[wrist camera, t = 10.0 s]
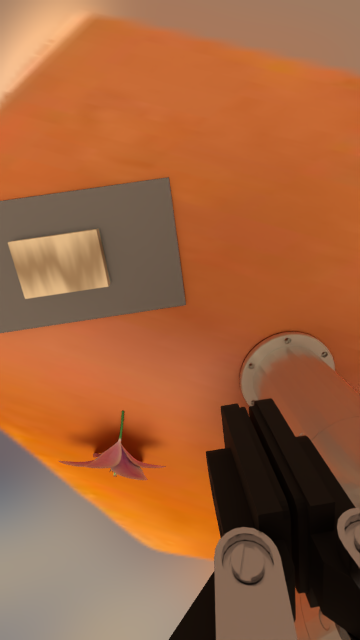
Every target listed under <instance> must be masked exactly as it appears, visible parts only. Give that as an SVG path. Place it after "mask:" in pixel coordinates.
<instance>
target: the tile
mask: <svg viewBox="0 0 360 640" xmlns="http://www.w3.org/2000/svg"><path fill="white" fill-rule="evenodd" d="M8 245H9V249H10V252H11V255H12V258H13V261H14V265H15V268H16V271H17V274H18V278H19V281H20V284H21V287H22V291H23V294H24V297H25V299H28V298H35V297H42V296H49V295H55V294H62V293H69V292H75V291H82V290H89V289H96V288H102V287H109V285H110V283H111V281H110V276H109V271H108V266H107V262H106V257H105V252H104V248H103V243H102V238H101V233H100V229H99V228H97V229H90V230H83V231H76V232H70V233H63V234H56V235H49V236H42V237H35V238H28V239H21V240H15V241H11V242H8Z"/></svg>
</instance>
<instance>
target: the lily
mask: <svg viewBox="0 0 360 640" xmlns="http://www.w3.org/2000/svg"><path fill="white" fill-rule="evenodd" d="M123 420H124V411H122V417H121V428H120V435H119V440H118V442H117V443H116V444H114V445H113V446H111V447H110V448H109V449H107V450H106V451H104V452H103V453H102V454H98V453H94V454H93V457H98V458H96V459H95V460H93V461H88V462H68V461H59V462H61V463H64V464H68V465H72V466H80V467H89V468H111V470H112V471H113V472H114V477H115V476H116V474H118V475H120V476H123V477H127V478H132V479H138V480H147V478H146V477H145V475H144V473H143V471H142V470H141V468H140V467H144V468H162V467H166V466H158V465H151V464H146V463H143V462H140V461H138V460H136V459H135V458H133V457H132V456H131V455H130V454H129V453H128V452H127V450H126V449H125V448H124V447H123V445H122V444H121V438H122V430H123ZM111 470H110V471H111Z"/></svg>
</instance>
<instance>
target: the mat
mask: <svg viewBox="0 0 360 640" xmlns="http://www.w3.org/2000/svg"><path fill="white" fill-rule="evenodd" d="M97 228H99V229H100V233H101V238H102V243H103V248H104V252H105V257H106V262H107V266H108V271H109V276H110V281H111V283H110V285H109V287H102V288H96V289H89V290H82V291H75V292H69V293H62V294H55V295H49V296H42V297H35V298H28V299H25V297H24V294H23V291H22V287H21V284H20V281H19V278H18V274H17V271H16V268H15V265H14V261H13V258H12V255H11V252H10V249H9V245H8V242H11V241H15V240H21V239H28V238H35V237H42V236H49V235H56V234H63V233H70V232H76V231H83V230H90V229H97ZM183 305H186V302H185V294H184V287H183V279H182V272H181V264H180V257H179V249H178V242H177V235H176V227H175V220H174V212H173V205H172V197H171V190H170V182H169V177H168V178H161V179H154V180H147V181H140V182H133V183H126V184H119V185H112V186H104V187H97V188H90V189H83V190H76V191H69V192H62V193H55V194H48V195H41V196H34V197H26V198H19V199H12V200H5V201H0V333H4V332H11V331H18V330H24V329H31V328H38V327H44V326H51V325H57V324H64V323H71V322H77V321H84V320H90V319H97V318H104V317H110V316H117V315H123V314H130V313H137V312H143V311H150V310H156V309H163V308H170V307H176V306H183Z"/></svg>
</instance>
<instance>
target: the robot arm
mask: <svg viewBox="0 0 360 640" xmlns="http://www.w3.org/2000/svg"><path fill="white" fill-rule="evenodd" d="M250 363H251V364H250ZM239 383H240V388H241V392H242V394H243V397H244V399H245V400H246V402H247V404H248V405H249V415H248V413H247V410H246V408H245V407H241V408H239V405H238V404H231V405H225V406H221V415H222V424H223V433H224V442H225V449H219V450H213V451H206V458H207V465H208V472H209V479H210V485H211V490H212V496H213V501H214V506H215V511H216V516H217V521H218V526H219V531H220V536H221V539H220V540H219V542H218V544H217V546H216V549H215V556H214V568H215V571H214V572H213V574H212V575H211V577H210V578H209V580H208V581H207V583H206V584H205V586H204V587H203V589H202V590H201V592H200V593H199V595H198V596H197V598H196V599H195V601H194V602H193V604H192V605H191V607H190V609H189V610H188V611H187V613H186V614H185V616H184V618H183V619H182V620H181V622H180V623H179V625H178V626H177V628H176V630H175V631H174V632H173V634H172V635H171V637H170V639H169V640H360V394H359V393H358V392H357V391H356V390H355V389H353V388H352V387H351V386H350V385H349V384H348V383H347V382H346V381H345V380H344V379H343V378H342V377H340V376H339V375H338V374H337V373H336V372H335V363H334V360H333V356H332V354H331V353H330V351H329V349H328V348H327V347H326V346H325V345H324V344H323V343H322V342H321V341H319V340H318V339H317V338H315V337H313V336H311V335H309V334H305V333H301V332H284V333H280V334H276V335H273V336H271V337H269V338H267V339H265V340H263V341H262V342H261V343H259V344H258V345H257V346H256V347H255V348H254V349H253V350H252V351H251V352H250V353H249V354H248V356H247V357H246V359H245V361H244V363H243V365H242V367H241V372H240V382H239ZM249 416H250V417H249Z"/></svg>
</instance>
